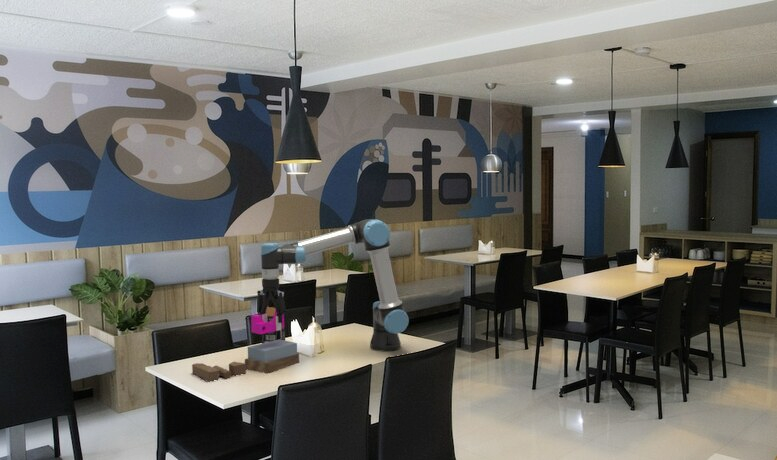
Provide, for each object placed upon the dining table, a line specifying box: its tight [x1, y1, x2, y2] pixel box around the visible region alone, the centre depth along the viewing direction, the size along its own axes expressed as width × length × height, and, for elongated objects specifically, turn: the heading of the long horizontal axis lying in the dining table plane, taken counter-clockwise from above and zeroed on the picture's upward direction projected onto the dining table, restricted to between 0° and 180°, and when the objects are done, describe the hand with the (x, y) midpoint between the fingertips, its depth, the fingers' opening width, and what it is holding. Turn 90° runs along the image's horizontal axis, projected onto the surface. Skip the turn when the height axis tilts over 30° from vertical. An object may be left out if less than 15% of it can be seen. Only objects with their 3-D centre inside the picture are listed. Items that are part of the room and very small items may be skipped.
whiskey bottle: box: [261, 298, 286, 344], centre depth 314 cm, size 10×10×32 cm
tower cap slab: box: [247, 339, 298, 363], centre depth 287 cm, size 12×18×5 cm, turn 138°
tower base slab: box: [244, 352, 300, 374], centre depth 288 cm, size 14×20×5 cm
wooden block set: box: [191, 361, 247, 382], centre depth 276 cm, size 17×6×18 cm
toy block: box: [250, 311, 285, 335], centre depth 286 cm, size 15×6×8 cm, turn 137°
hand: (271, 329), depth 287 cm, fingers closed on toy block, 7 cm apart
